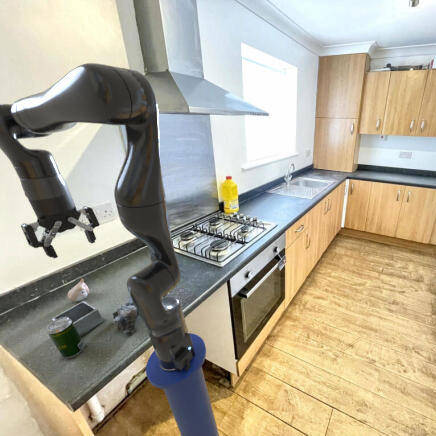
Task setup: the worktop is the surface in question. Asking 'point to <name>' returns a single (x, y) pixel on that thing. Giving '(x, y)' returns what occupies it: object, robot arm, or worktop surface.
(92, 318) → the open square box
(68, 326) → the beer can
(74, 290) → the garlic bulb
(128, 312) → the foil
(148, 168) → the robot arm
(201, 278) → the worktop surface
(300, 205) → the worktop surface
